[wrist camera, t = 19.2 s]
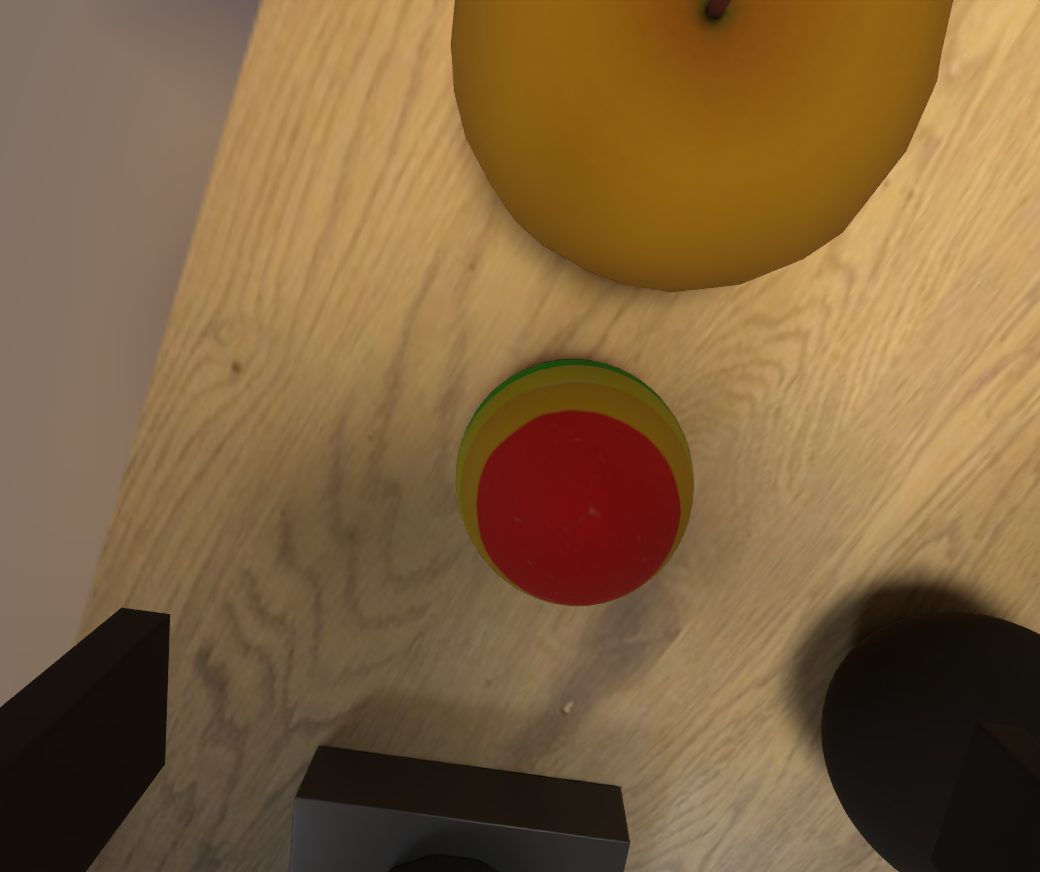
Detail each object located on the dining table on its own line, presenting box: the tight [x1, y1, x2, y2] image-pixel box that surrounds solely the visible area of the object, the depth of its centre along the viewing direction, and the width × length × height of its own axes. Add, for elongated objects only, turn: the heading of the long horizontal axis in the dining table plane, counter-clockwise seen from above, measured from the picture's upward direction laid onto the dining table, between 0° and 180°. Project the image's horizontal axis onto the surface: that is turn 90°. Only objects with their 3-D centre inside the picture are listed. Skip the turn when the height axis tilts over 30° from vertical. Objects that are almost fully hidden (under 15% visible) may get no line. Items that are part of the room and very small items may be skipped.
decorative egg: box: [456, 359, 694, 606], centre depth 23 cm, size 8×8×10 cm
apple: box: [451, 0, 953, 292], centre depth 20 cm, size 13×13×11 cm
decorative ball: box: [821, 612, 1040, 872], centre depth 25 cm, size 10×10×10 cm
